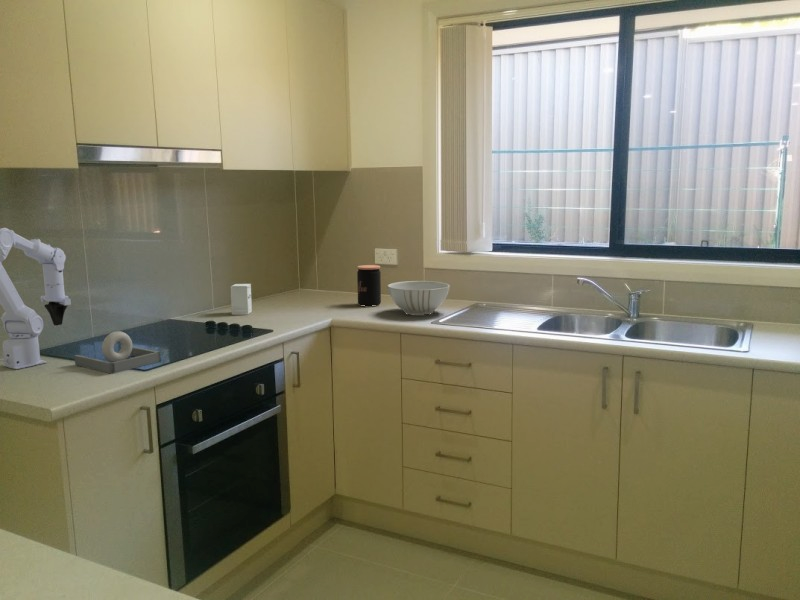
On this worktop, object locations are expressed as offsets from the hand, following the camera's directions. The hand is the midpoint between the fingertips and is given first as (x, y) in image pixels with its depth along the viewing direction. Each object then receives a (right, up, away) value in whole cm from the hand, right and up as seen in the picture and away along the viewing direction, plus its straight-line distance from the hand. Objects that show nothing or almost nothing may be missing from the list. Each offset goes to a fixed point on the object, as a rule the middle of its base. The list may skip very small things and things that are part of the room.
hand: (57, 324), depth 221 cm
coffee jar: (+99, +6, +88) cm, 133 cm away
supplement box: (+44, +2, +70) cm, 83 cm away
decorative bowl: (+121, +2, +68) cm, 139 cm away
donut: (+25, -12, -12) cm, 30 cm away
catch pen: (+25, -11, -13) cm, 31 cm away
